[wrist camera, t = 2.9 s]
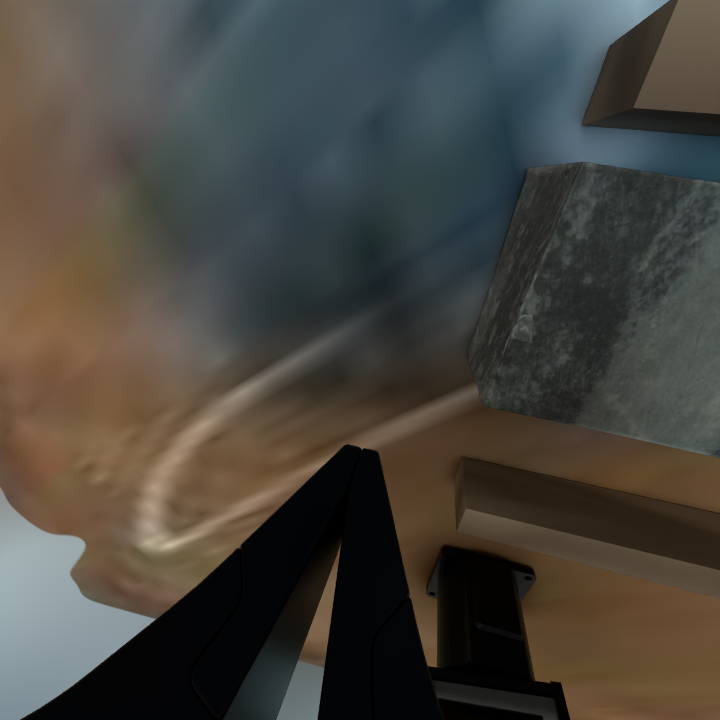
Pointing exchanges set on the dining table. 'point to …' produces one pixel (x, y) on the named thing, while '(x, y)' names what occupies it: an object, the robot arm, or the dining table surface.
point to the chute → (586, 502)
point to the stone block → (608, 306)
